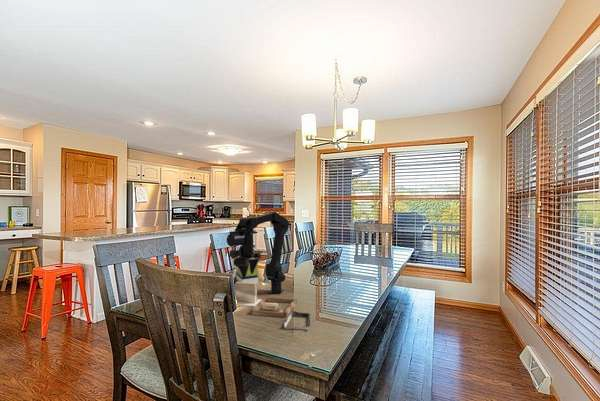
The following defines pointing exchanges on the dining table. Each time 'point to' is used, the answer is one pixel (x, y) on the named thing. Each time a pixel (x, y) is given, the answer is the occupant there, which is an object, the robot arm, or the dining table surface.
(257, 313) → the rack
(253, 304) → the mat
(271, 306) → the offcut top
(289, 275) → the dining table surface
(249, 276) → the tea box
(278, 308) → the offcut middle
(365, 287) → the dining table surface
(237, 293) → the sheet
